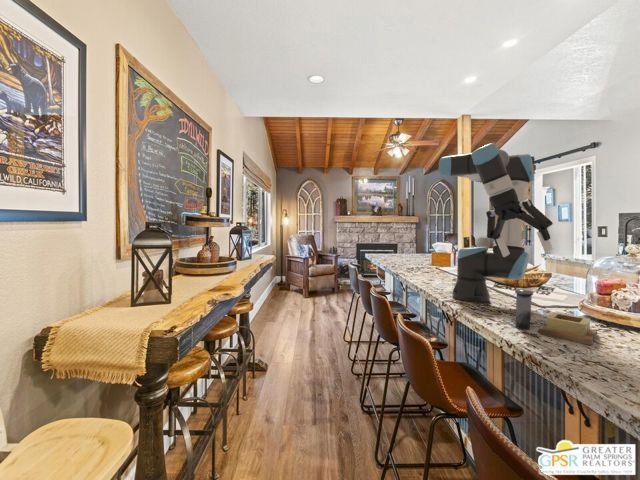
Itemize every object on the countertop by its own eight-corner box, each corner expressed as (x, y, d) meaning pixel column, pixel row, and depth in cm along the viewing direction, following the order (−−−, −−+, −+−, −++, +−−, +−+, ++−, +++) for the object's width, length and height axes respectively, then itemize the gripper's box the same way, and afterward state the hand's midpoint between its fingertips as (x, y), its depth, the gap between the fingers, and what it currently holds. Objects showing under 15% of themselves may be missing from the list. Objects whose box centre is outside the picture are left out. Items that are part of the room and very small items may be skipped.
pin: (516, 324, 103) (517, 288, 103) (533, 327, 100) (535, 290, 99) (511, 327, 100) (513, 290, 99) (529, 331, 96) (531, 292, 96)
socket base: (548, 325, 102) (548, 320, 102) (596, 335, 93) (597, 330, 93) (538, 333, 94) (539, 328, 94) (590, 345, 85) (591, 339, 85)
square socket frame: (552, 322, 100) (553, 312, 100) (589, 330, 93) (590, 318, 93) (546, 329, 94) (546, 317, 94) (585, 337, 87) (585, 324, 87)
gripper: (461, 205, 109) (485, 261, 109) (533, 182, 86) (562, 253, 86) (475, 199, 112) (498, 253, 112) (547, 175, 89) (576, 243, 89)
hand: (526, 253), depth 99 cm, fingers open, 13 cm apart
